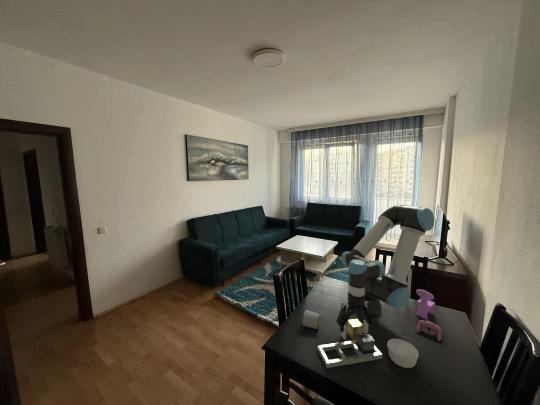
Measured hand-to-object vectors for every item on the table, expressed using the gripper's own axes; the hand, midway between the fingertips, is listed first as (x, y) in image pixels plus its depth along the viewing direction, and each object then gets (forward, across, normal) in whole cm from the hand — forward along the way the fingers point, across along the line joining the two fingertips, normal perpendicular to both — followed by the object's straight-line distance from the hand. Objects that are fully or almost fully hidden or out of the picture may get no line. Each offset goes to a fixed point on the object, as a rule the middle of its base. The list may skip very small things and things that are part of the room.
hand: (354, 335), depth 106 cm
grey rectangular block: (0, +1, +10) cm, 10 cm away
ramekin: (0, -12, +16) cm, 20 cm away
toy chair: (0, -48, -8) cm, 49 cm away
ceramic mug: (+1, +17, -12) cm, 21 cm away
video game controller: (0, -36, +6) cm, 37 cm away
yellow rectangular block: (0, 0, 0) cm, 0 cm away
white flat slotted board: (0, +8, +10) cm, 13 cm away
